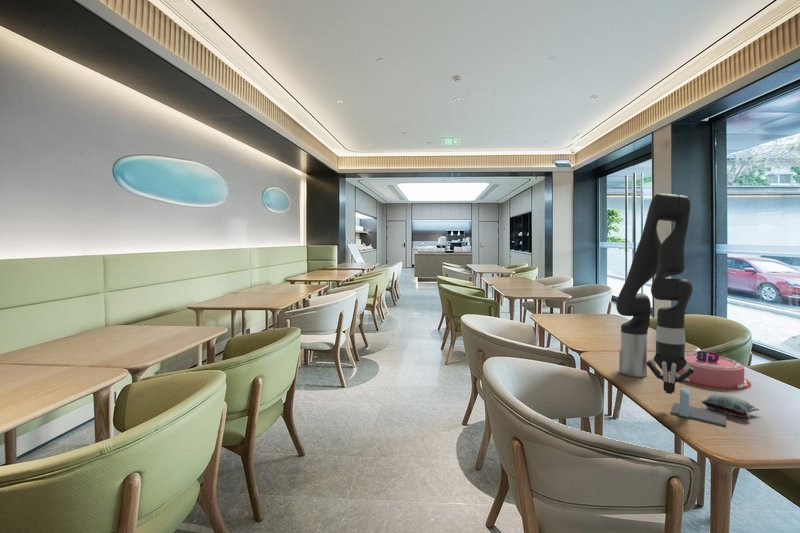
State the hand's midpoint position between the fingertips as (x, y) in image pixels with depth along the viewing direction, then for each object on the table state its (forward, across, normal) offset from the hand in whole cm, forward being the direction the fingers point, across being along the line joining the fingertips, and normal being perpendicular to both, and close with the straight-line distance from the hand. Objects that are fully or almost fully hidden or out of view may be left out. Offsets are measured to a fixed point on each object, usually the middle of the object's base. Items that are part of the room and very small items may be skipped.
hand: (669, 392), depth 117 cm
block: (+1, +4, +1) cm, 4 cm away
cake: (+6, +8, +43) cm, 44 cm away
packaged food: (+6, +14, +10) cm, 18 cm away
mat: (+5, +7, 0) cm, 9 cm away
